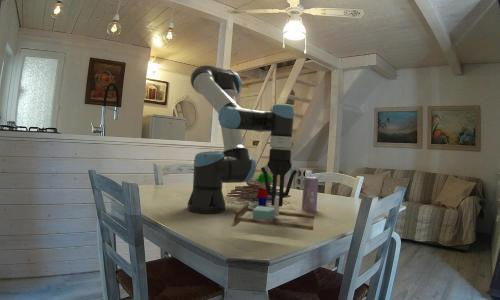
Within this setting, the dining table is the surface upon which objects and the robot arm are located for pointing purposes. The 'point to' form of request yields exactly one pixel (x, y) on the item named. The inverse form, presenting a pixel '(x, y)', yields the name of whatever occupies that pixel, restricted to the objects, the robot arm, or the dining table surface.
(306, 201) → the beverage can
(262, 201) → the toy
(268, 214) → the block
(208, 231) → the dining table surface
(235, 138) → the robot arm
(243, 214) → the brown flat frame
